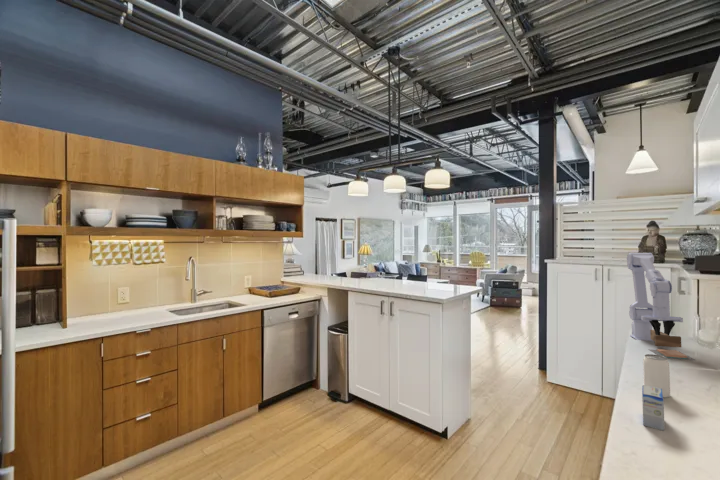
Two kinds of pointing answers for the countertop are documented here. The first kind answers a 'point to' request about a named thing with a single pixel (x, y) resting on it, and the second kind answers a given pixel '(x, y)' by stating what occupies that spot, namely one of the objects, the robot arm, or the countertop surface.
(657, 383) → the can
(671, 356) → the tile
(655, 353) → the mat
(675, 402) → the countertop surface
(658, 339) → the wooden t-shaped piece
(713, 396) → the countertop surface
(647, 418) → the medicine box
